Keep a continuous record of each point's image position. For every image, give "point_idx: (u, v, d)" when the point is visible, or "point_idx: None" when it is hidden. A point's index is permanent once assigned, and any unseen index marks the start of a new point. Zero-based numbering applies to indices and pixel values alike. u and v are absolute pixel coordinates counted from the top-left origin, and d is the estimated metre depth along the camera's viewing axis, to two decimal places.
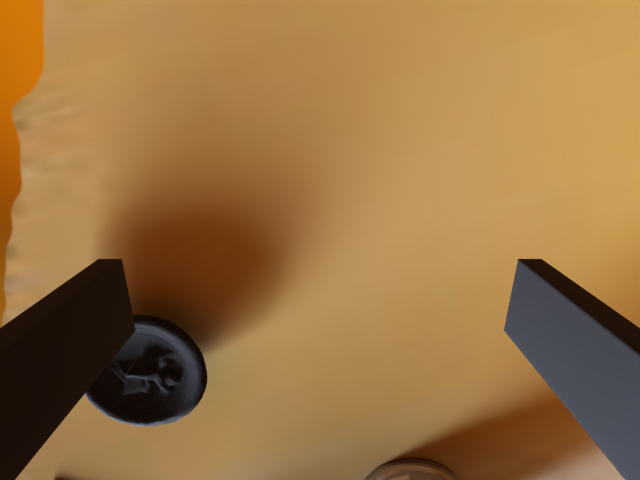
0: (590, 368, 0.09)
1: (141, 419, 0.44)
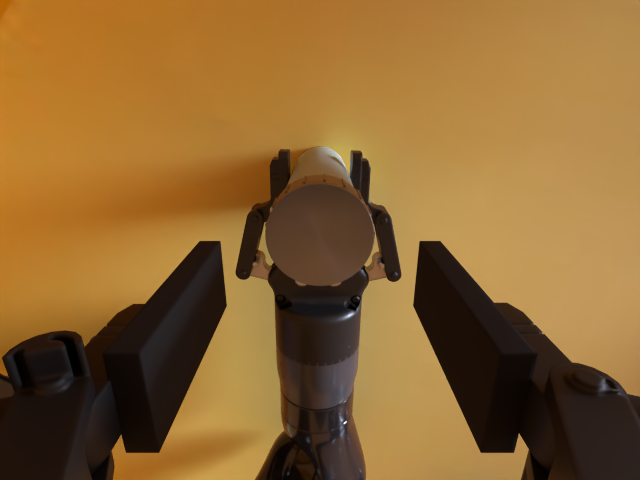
0: (450, 328, 0.10)
1: None
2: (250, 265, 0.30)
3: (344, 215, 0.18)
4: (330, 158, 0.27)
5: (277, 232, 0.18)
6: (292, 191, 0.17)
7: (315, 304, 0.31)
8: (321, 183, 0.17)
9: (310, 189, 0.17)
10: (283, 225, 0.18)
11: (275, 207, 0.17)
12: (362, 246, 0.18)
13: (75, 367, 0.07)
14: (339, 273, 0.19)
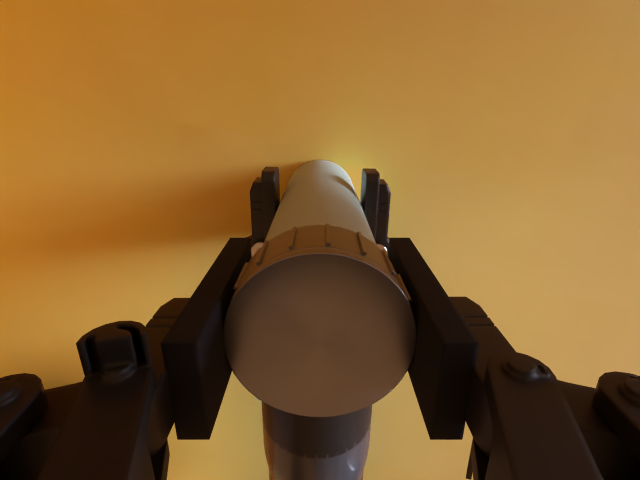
0: None
1: None
2: None
3: (364, 306, 0.10)
4: (334, 180, 0.20)
5: (243, 334, 0.10)
6: (268, 266, 0.09)
7: None
8: (323, 251, 0.09)
9: (302, 263, 0.09)
10: (254, 323, 0.10)
11: (238, 293, 0.10)
12: (395, 356, 0.10)
13: (138, 356, 0.08)
14: (353, 398, 0.11)
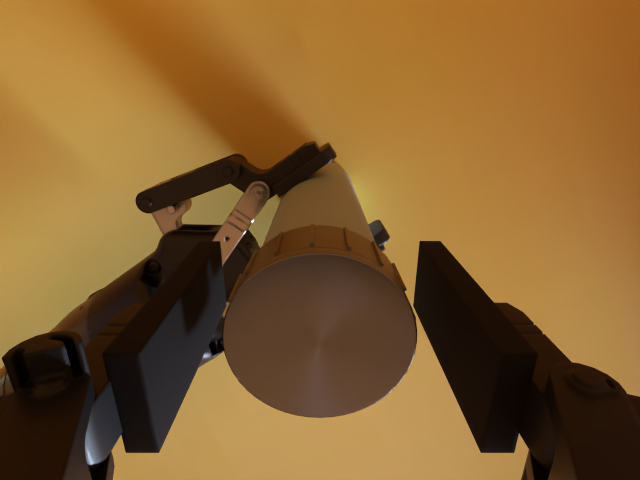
0: (450, 328, 0.10)
1: None
2: (164, 205, 0.20)
3: (314, 290, 0.10)
4: None
5: (268, 385, 0.11)
6: (223, 330, 0.10)
7: None
8: (241, 285, 0.10)
9: (238, 306, 0.10)
10: (264, 372, 0.10)
11: (230, 364, 0.10)
12: (383, 299, 0.10)
13: (75, 367, 0.07)
14: (396, 356, 0.10)
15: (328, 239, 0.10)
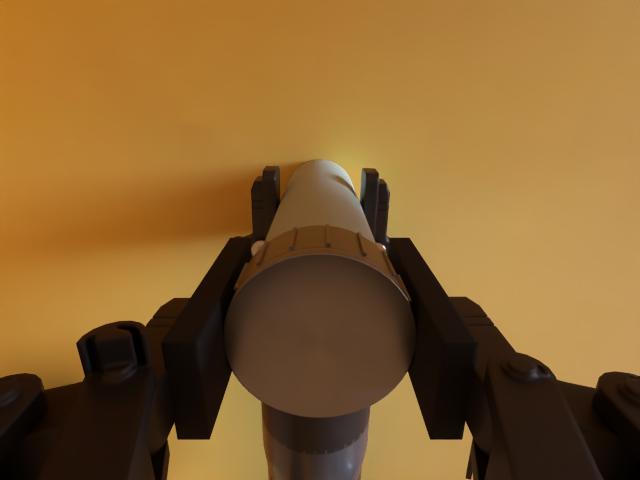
0: None
1: None
2: None
3: (267, 316, 0.10)
4: (334, 180, 0.20)
5: (330, 402, 0.11)
6: (256, 397, 0.11)
7: None
8: (228, 361, 0.10)
9: (243, 374, 0.10)
10: (316, 396, 0.11)
11: (290, 412, 0.11)
12: (315, 272, 0.09)
13: (139, 356, 0.08)
14: (381, 295, 0.10)
15: (248, 269, 0.10)
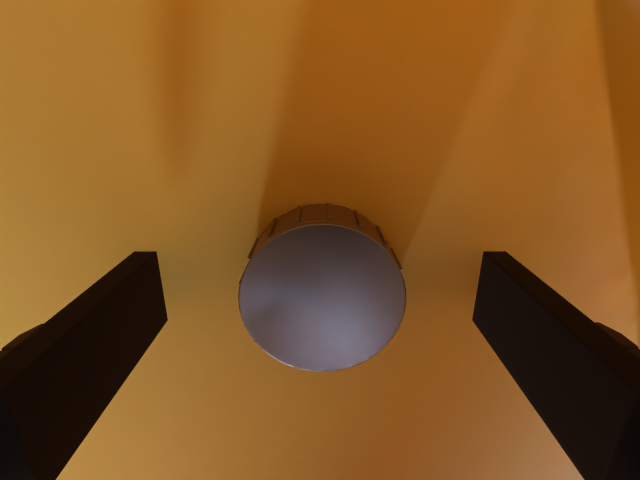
0: (539, 351, 0.09)
1: None
2: None
3: (277, 280, 0.11)
4: None
5: (331, 357, 0.12)
6: (267, 352, 0.12)
7: None
8: None
9: (256, 332, 0.12)
10: (319, 352, 0.12)
11: (296, 366, 0.12)
12: (318, 240, 0.11)
13: None
14: (375, 260, 0.11)
15: (260, 241, 0.12)
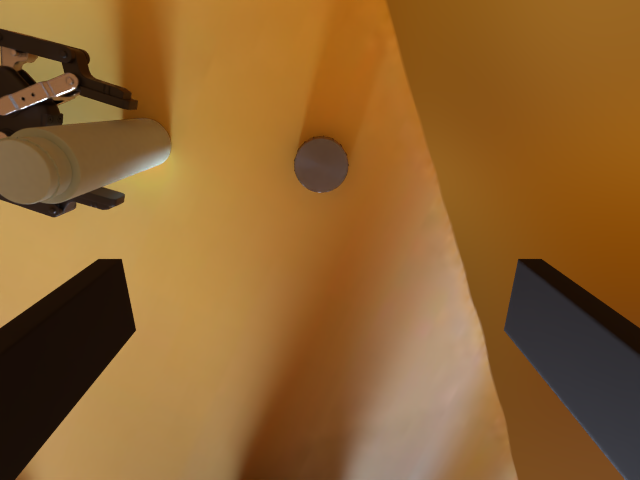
0: (590, 368, 0.09)
1: None
2: (10, 46, 0.28)
3: (307, 157, 0.36)
4: (138, 167, 0.32)
5: (324, 186, 0.37)
6: (302, 184, 0.37)
7: None
8: (295, 172, 0.37)
9: (299, 177, 0.37)
10: (320, 184, 0.37)
11: (312, 190, 0.37)
12: (320, 143, 0.36)
13: None
14: (337, 150, 0.36)
15: (301, 147, 0.37)
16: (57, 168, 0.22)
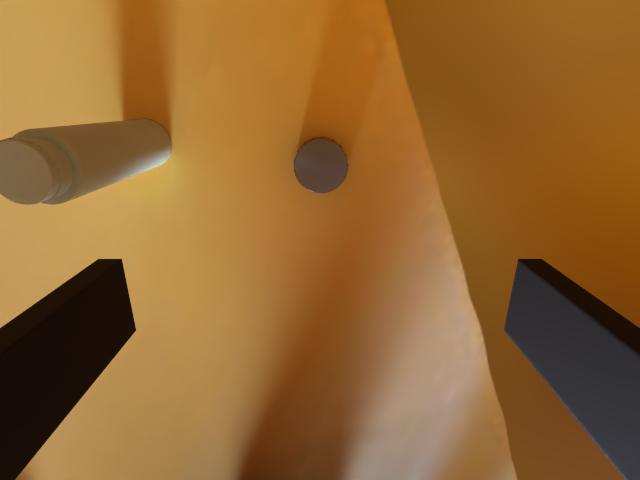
0: (590, 368, 0.09)
1: None
2: None
3: (306, 158, 0.36)
4: (138, 168, 0.32)
5: (324, 187, 0.37)
6: (302, 185, 0.37)
7: None
8: (295, 173, 0.37)
9: (299, 177, 0.37)
10: (319, 185, 0.37)
11: (312, 191, 0.37)
12: (319, 144, 0.36)
13: None
14: (337, 151, 0.36)
15: None
16: (58, 169, 0.22)
